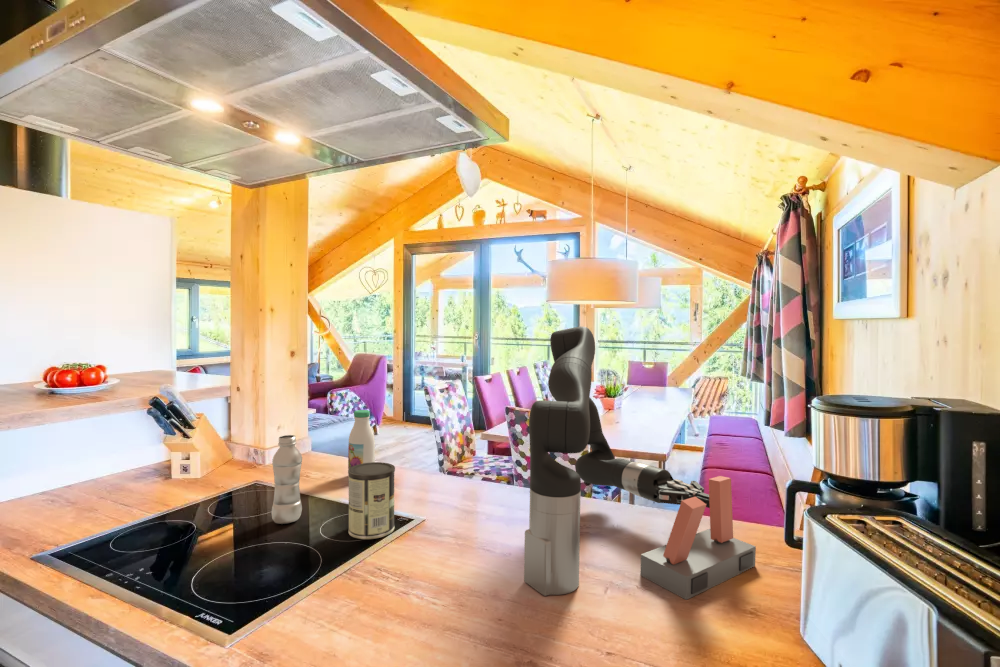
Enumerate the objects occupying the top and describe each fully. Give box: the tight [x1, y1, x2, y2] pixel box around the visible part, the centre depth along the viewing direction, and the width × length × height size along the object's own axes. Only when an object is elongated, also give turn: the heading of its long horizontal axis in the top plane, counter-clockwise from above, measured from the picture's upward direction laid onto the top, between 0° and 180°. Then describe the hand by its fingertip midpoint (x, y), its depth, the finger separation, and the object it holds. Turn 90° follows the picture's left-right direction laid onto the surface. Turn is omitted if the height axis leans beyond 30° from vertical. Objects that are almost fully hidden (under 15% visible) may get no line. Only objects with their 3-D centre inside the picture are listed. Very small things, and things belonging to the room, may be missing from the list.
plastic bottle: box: [271, 434, 303, 525], centre depth 118 cm, size 6×7×20 cm
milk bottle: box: [347, 409, 376, 477], centre depth 152 cm, size 8×8×20 cm
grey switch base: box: [640, 528, 757, 601], centre depth 97 cm, size 22×10×4 cm, turn 124°
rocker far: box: [708, 475, 734, 543], centre depth 102 cm, size 4×3×12 cm, turn 124°
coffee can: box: [347, 461, 396, 540], centre depth 114 cm, size 10×10×14 cm
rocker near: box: [663, 497, 707, 565], centre depth 91 cm, size 4×3×12 cm, turn 124°
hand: (715, 503), depth 103 cm, fingers closed
